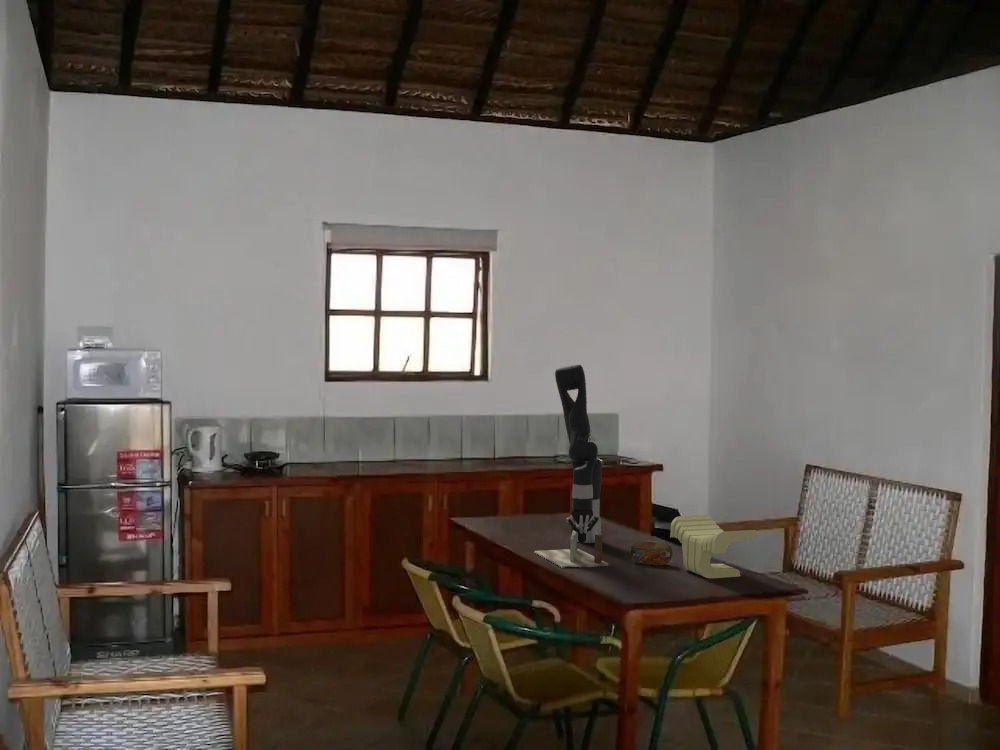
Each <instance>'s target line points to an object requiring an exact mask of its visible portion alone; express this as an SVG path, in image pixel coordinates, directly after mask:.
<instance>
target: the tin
mask: <svg viewBox="0 0 1000 750" xmlns="http://www.w3.org/2000/svg"><path fill="white" fill-rule="evenodd" d="M630 556H631V558H632V560H633V561H634V562H635V563H637V564H640V563H642V565H651V564H652V565H653V566H665V565H667V564H668V563H670V562H671V560H672V558H673V549H672V547H671V546H670V545H669V544H668V543H667V542H664V541H654V540H637V541H636V542H634V543H633V544H632V546H631V549H630Z"/></svg>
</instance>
